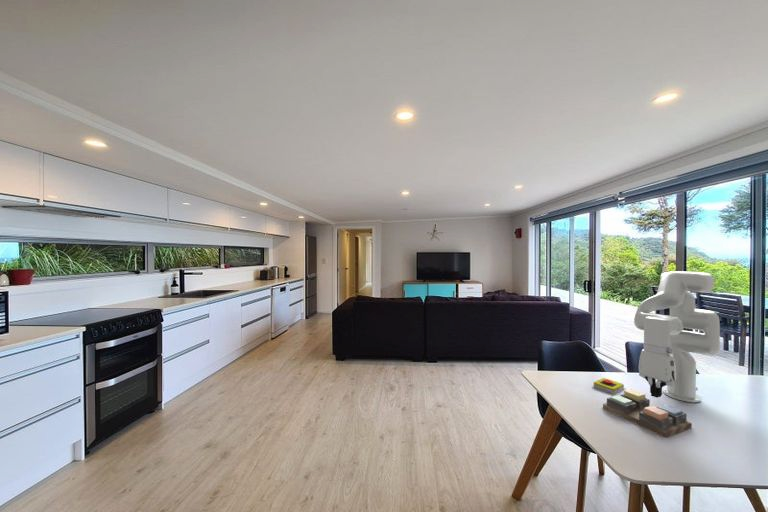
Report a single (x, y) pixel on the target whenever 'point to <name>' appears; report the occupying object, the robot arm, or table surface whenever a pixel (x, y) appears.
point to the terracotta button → (656, 413)
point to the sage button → (621, 400)
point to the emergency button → (608, 386)
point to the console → (648, 417)
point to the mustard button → (634, 395)
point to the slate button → (670, 410)
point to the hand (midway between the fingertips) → (655, 396)
